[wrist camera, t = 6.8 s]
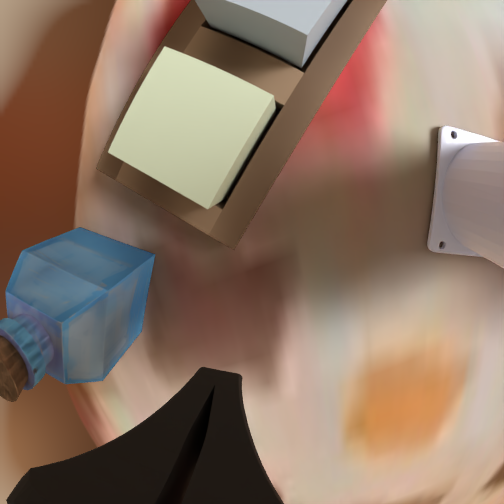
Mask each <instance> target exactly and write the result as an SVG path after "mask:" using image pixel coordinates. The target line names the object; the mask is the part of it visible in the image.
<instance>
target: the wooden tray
mask: <svg viewBox="0 0 504 504" xmlns="http://www.w3.org/2000/svg"><path fill="white" fill-rule="evenodd" d="M386 1H387V0H347V2H346V3H345V4H344V6H343V7H342V9H341V10H340V12H339V13H338V14H337V16H336V17H335V19H334V20H333V22H332V23H331V25H330V26H329V28H328V29H327V30H326V32H325V33H324V35H323V36H322V38H321V39H320V41H319V42H318V44H317V45H316V47H315V48H314V50H313V51H312V53H311V54H310V56H309V58H308V59H307V61H306V62H305V64H304V65H303V67H302V68H300V67H298V66H296V65H294V64H292V63H290V62H288V61H286V60H284V59H282V58H280V57H278V56H276V55H274V54H272V53H270V52H268V51H266V50H264V49H262V48H260V47H257V46H255V45H253V44H251V43H249V42H246V41H244V40H242V39H239V38H237V37H235V36H232V35H230V34H227V33H225V32H222V31H220V30H217V29H215V28H212V27H210V25H209V23H208V22H207V20H206V18H205V16H204V15H203V13H202V11H201V10H200V8H199V6H198V5H197V3H196V2H195V0H191V1H190V2H189V4H188V5H187V6H186V8H185V9H184V10H183V12H182V13H181V15H180V16H179V17H178V19H177V20H176V22H175V23H174V25H173V26H172V27H171V29H170V30H169V32H168V33H167V35H166V36H165V38H164V39H163V41H162V43H161V44H160V46H159V47H158V49H157V50H156V52H155V54H154V55H153V57H152V58H151V60H150V62H149V63H148V65H147V67H146V69H145V70H144V72H143V74H142V75H141V77H140V79H139V81H138V82H137V84H136V86H135V88H134V90H133V92H132V93H131V95H130V97H129V99H128V101H127V103H126V105H125V107H124V109H123V111H122V113H121V115H120V117H119V119H118V121H117V123H116V125H115V127H114V129H113V131H112V133H111V135H110V137H109V140H108V142H107V144H106V146H105V148H104V151H103V153H102V155H101V158H100V160H99V162H98V165H97V167H96V169H97V170H99V171H101V172H102V173H104V174H106V175H108V176H109V177H111V178H113V179H114V180H116V181H118V182H119V183H121V184H123V185H124V186H126V187H128V188H129V189H131V190H133V191H134V192H136V193H138V194H139V195H141V196H143V197H144V198H146V199H148V200H150V201H151V202H153V203H155V204H156V205H158V206H160V207H161V208H163V209H165V210H166V211H168V212H170V213H172V214H173V215H175V216H177V217H178V218H180V219H182V220H183V221H185V222H187V223H188V224H190V225H192V226H194V227H195V228H197V229H199V230H200V231H202V232H204V233H205V234H207V235H209V236H211V237H212V238H214V239H216V240H217V241H219V242H221V243H223V244H224V245H226V246H228V247H229V248H231V249H233V250H234V249H235V247H236V246H237V244H238V242H239V241H240V239H241V237H242V236H243V234H244V232H245V230H246V229H247V227H248V225H249V224H250V222H251V220H252V219H253V217H254V215H255V214H256V212H257V210H258V209H259V207H260V205H261V203H262V202H263V200H264V198H265V197H266V195H267V193H268V192H269V190H270V188H271V187H272V185H273V183H274V182H275V180H276V178H277V177H278V175H279V173H280V172H281V170H282V168H283V167H284V165H285V163H286V162H287V160H288V158H289V157H290V155H291V153H292V152H293V150H294V149H295V147H296V145H297V144H298V142H299V140H300V139H301V137H302V135H303V134H304V132H305V130H306V129H307V127H308V126H309V124H310V122H311V121H312V119H313V117H314V116H315V114H316V112H317V111H318V109H319V108H320V106H321V104H322V103H323V101H324V99H325V98H326V96H327V95H328V93H329V91H330V90H331V88H332V87H333V85H334V83H335V82H336V80H337V78H338V77H339V75H340V74H341V72H342V70H343V69H344V67H345V66H346V64H347V62H348V61H349V59H350V58H351V56H352V54H353V53H354V51H355V50H356V48H357V47H358V45H359V43H360V42H361V40H362V39H363V37H364V35H365V34H366V32H367V31H368V29H369V28H370V26H371V24H372V23H373V21H374V20H375V18H376V17H377V15H378V13H379V12H380V10H381V9H382V7H383V6H384V4H385V3H386ZM164 46H165V47H168V48H171V49H173V50H176V51H178V52H181V53H183V54H186V55H188V56H191V57H193V58H196V59H198V60H200V61H203V62H205V63H207V64H210V65H212V66H214V67H216V68H219V69H221V70H223V71H225V72H227V73H230V74H232V75H234V76H236V77H238V78H240V79H242V80H244V81H246V82H248V83H250V84H252V85H254V86H256V87H258V88H260V89H262V90H264V91H266V92H268V93H270V94H272V95H274V99H275V106H276V115H275V116H274V118H273V120H272V121H271V123H270V125H269V126H268V128H267V130H266V131H265V133H264V135H263V136H262V138H261V140H260V141H259V143H258V145H257V146H256V148H255V150H254V151H253V153H252V155H251V156H250V158H249V160H248V162H247V163H246V165H245V167H244V168H243V170H242V172H241V174H240V175H239V177H238V179H237V181H236V182H235V184H234V186H233V188H232V189H231V191H230V193H229V195H228V196H227V198H226V199H224V200H222V201H221V202H219V203H217V204H216V205H214V206H212V207H211V208H209V209H206V208H204V207H203V206H201V205H199V204H198V203H196V202H194V201H192V200H191V199H189V198H187V197H185V196H184V195H182V194H180V193H178V192H177V191H175V190H173V189H172V188H170V187H168V186H166V185H165V184H163V183H161V182H159V181H158V180H156V179H154V178H152V177H151V176H149V175H147V174H145V173H144V172H142V171H140V170H138V169H137V168H135V167H133V166H131V165H129V164H128V163H126V162H124V161H122V160H121V159H119V158H117V157H115V156H114V155H112V154H110V153H108V151H109V148H110V146H111V144H112V142H113V140H114V138H115V135H116V133H117V131H118V129H119V127H120V125H121V123H122V121H123V119H124V117H125V115H126V113H127V111H128V109H129V107H130V105H131V103H132V101H133V99H134V98H135V96H136V94H137V92H138V90H139V88H140V87H141V85H142V83H143V81H144V80H145V78H146V76H147V74H148V73H149V71H150V69H151V68H152V66H153V64H154V63H155V61H156V59H157V58H158V56H159V54H160V53H161V51H162V50H163V48H164Z"/></svg>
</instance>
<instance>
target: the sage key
mask: <svg viewBox="0 0 504 504" xmlns="http://www.w3.org/2000/svg"><path fill="white" fill-rule="evenodd" d="M275 115H276V106H275V99H274V95H272V94H270V93H268V92H266V91H264V90H262V89H260V88H258V87H256V86H254V85H252V84H250V83H248V82H246V81H244V80H242V79H240V78H238V77H236V76H234V75H232V74H230V73H227V72H225V71H223V70H221V69H219V68H216V67H214V66H212V65H210V64H207V63H205V62H203V61H200V60H198V59H196V58H193V57H191V56H188V55H186V54H183V53H181V52H178V51H176V50H173V49H171V48H168V47H165V46H164V48H163V50H162V51H161V53H160V54H159V56H158V58H157V59H156V61H155V63H154V64H153V66H152V68H151V69H150V71H149V73H148V74H147V76H146V78H145V80H144V81H143V83H142V85H141V87H140V88H139V90H138V92H137V94H136V96H135V98H134V99H133V101H132V103H131V105H130V107H129V109H128V111H127V113H126V115H125V117H124V119H123V121H122V123H121V125H120V127H119V129H118V131H117V133H116V135H115V138H114V140H113V142H112V144H111V146H110V148H109V151H108V153H110V154H112V155H114V156H115V157H117V158H119V159H121V160H122V161H124V162H126V163H128V164H129V165H131V166H133V167H135V168H137V169H138V170H140V171H142V172H144V173H145V174H147V175H149V176H151V177H152V178H154V179H156V180H158V181H159V182H161V183H163V184H165V185H166V186H168V187H170V188H172V189H173V190H175V191H177V192H178V193H180V194H182V195H184V196H185V197H187V198H189V199H191V200H192V201H194V202H196V203H198V204H199V205H201V206H203V207H204V208H206V209H209V208H211V207H212V206H214V205H216V204H217V203H219V202H221V201H222V200H224V199H226V198H227V196H228V195H229V193H230V191H231V189H232V188H233V186H234V184H235V182H236V181H237V179H238V177H239V175H240V174H241V172H242V170H243V168H244V167H245V165H246V163H247V162H248V160H249V158H250V156H251V155H252V153H253V151H254V150H255V148H256V146H257V145H258V143H259V141H260V140H261V138H262V136H263V135H264V133H265V131H266V130H267V128H268V126H269V125H270V123H271V121H272V120H273V118H274V116H275Z"/></svg>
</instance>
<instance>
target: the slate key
mask: <svg viewBox="0 0 504 504" xmlns="http://www.w3.org/2000/svg"><path fill="white" fill-rule="evenodd" d="M195 2H196V3H197V5H198V6H199V8H200V10H201V11H202V13H203V15H204V16H205V18H206V20H207V22H208V23H209V25H210V27H212V28H215V29H217V30H220V31H222V32H225V33H227V34H230V35H232V36H235V37H237V38H239V39H242V40H244V41H246V42H249V43H251V44H253V45H255V46H257V47H260V48H262V49H264V50H266V51H268V52H270V53H272V54H274V55H276V56H278V57H280V58H282V59H284V60H286V61H288V62H290V63H292V64H294V65H296V66H298V67H300V68H302V67H303V65H304V64H305V62H306V61H307V59H308V58H309V56H310V54H311V53H312V51H313V50H314V48H315V47H316V45H317V44H318V42H319V41H320V39H321V38H322V36H323V35H324V33H325V32H326V30H327V29H328V28H329V26H330V25H331V23H332V22H333V20H334V19H335V17H336V16H337V14H338V13H339V12H340V10H341V9H342V7H343V6H344V4H345V3H346V2H347V0H195Z"/></svg>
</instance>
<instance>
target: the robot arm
mask: <svg viewBox="0 0 504 504" xmlns="http://www.w3.org/2000/svg"><path fill="white" fill-rule="evenodd" d="M451 132H453V133H454V139H453V138H452V137H451ZM442 241H443V245H442V247H441V248H439V244H440V242H442ZM427 246H428V249H429V250H431V251H432V252H437V253H448V254H458V255H468V256H478V257H485V258H486V259H488V260H490V261H492V262H493V263H495V264H497V265H498V266H500V267H502V268H503V269H504V142H500V141H497V140H494V139H491V138H488V137H485V136H482V135H478V134H475V133H472V132H468V131H465V130H462V129H458V128H454V127H451V126H442V127H440V129H439V132H438V154H437V168H436V180H435V190H434V199H433V207H432V215H431V222H430V229H429V235H428V241H427ZM6 501H7V504H284V503H283V501H282V500H281V498H280V496H279V495H278V493H277V492H276V490H275V488H274V487H273V485H272V483H271V481H270V479H269V477H268V475H267V473H266V471H265V469H264V467H263V465H262V463H261V460H260V458H259V456H258V453H257V451H256V448H255V445H254V442H253V439H252V436H251V433H250V430H249V426H248V423H247V418H246V414H245V410H244V404H243V397H242V376H241V375H240V374H237V373H231V372H226V371H221V370H216V369H211V368H206V367H201V368H200V369H199V370H198V371H197V372H196V373H195V375H194V376H193V377H192V378H191V379H190V380H189V381H188V382H187V383H186V385H185V386H184V387H183V388H182V389H181V390H180V391H179V392H178V393H177V394H175V395H174V396H173V397H172V398H171V399H170V400H169V401H168V402H167V403H166V404H165V405H163V406H162V407H161V408H160V409H158V410H157V411H156V412H155V413H153V414H152V415H151V416H150V417H148V418H147V419H146V420H144V421H143V422H142V423H140V424H139V425H137V426H136V427H134V428H133V429H131V430H130V431H128V432H126V433H125V434H123V435H121V436H119V437H118V438H116V439H114V440H112V441H110V442H108V443H106V444H104V445H102V446H100V447H98V448H96V449H93V450H91V451H88V452H86V453H83V454H81V455H78V456H75V457H73V458H70V459H67V460H64V461H60V462H56V463H52V464H48V465H44V466H40V467H35V468H31V469H30V470H29V471H28V472H27V473H26V474H25V475H24V476H23V477H22V478H21V480H20V481H19V482H18V484H17V485H16V487H15V488H14V489H13V491H12V492H11V494H10V495H9V497H8V498H7V500H6Z"/></svg>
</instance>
